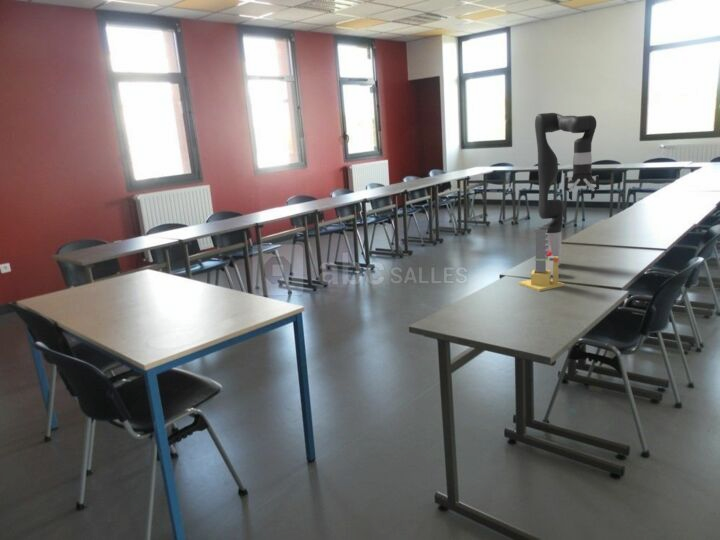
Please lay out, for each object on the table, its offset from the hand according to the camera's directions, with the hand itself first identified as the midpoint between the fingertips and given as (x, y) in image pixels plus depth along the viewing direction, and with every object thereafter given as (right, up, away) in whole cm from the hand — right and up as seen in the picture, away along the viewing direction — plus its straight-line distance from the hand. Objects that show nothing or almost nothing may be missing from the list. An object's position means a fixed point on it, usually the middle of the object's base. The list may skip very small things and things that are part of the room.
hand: (581, 199), depth 237 cm
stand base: (-18, -38, +2) cm, 42 cm away
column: (-18, -32, 0) cm, 37 cm away
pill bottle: (-9, -34, +19) cm, 40 cm away
